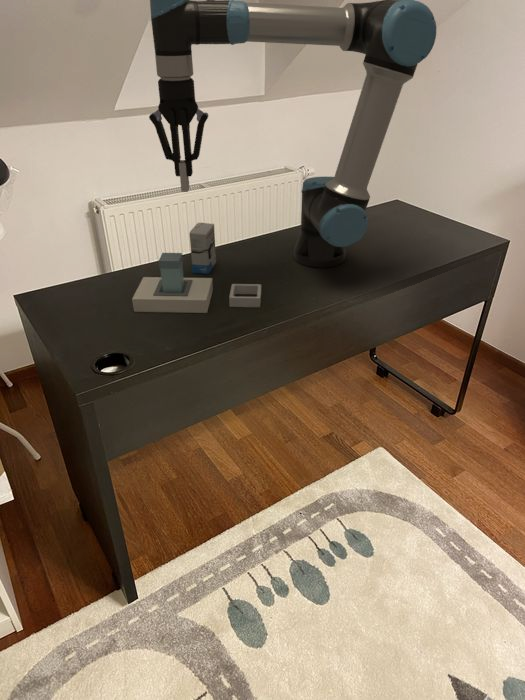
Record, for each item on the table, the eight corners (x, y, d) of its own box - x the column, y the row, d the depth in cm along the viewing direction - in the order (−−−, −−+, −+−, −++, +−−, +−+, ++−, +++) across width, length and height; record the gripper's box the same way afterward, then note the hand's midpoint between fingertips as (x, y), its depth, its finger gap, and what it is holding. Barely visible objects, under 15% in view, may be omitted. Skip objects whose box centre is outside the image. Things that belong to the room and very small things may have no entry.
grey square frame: (261, 293, 136) (261, 284, 135) (260, 307, 130) (260, 298, 129) (232, 292, 137) (231, 283, 135) (229, 306, 130) (229, 297, 129)
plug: (186, 296, 135) (181, 252, 128) (183, 305, 131) (178, 261, 124) (167, 296, 135) (162, 252, 128) (163, 305, 131) (158, 260, 125)
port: (212, 290, 138) (212, 277, 136) (207, 312, 128) (206, 299, 126) (145, 289, 138) (143, 276, 136) (134, 311, 128) (131, 297, 126)
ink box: (208, 274, 146) (206, 234, 139) (191, 273, 147) (188, 232, 140) (217, 262, 153) (214, 223, 146) (200, 260, 153) (198, 221, 147)
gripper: (208, 75, 113) (214, 185, 126) (148, 75, 113) (161, 185, 127) (204, 80, 107) (211, 195, 120) (140, 80, 107) (154, 194, 120)
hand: (185, 190), depth 123 cm, fingers closed
